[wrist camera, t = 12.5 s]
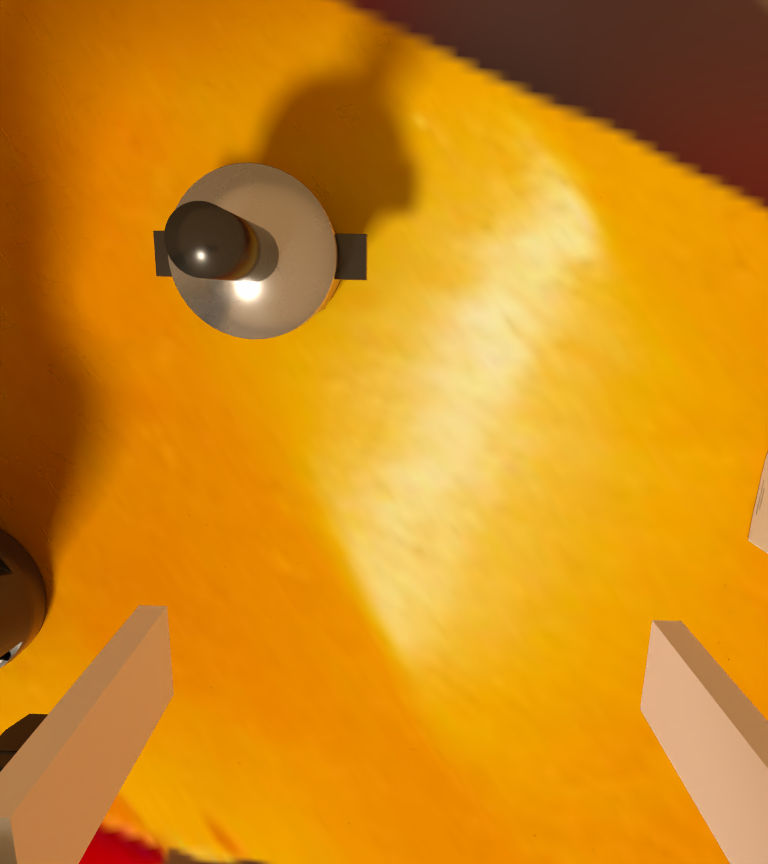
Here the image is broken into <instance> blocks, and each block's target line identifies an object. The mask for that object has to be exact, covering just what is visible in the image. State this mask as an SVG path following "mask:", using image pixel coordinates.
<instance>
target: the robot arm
mask: <svg viewBox="0 0 768 864" xmlns="http://www.w3.org/2000/svg"><path fill="white" fill-rule="evenodd" d="M45 610H46V594H45V588H44V584H43V581H42V578H41V575H40V573H39V571H38V569H37V567H36V565H35V563H34V561H33V560H32V558H31V557H30V556H29V554H28V553H27V552H26V551H25V549H24V548H23V547H22V546H21V545H20V544H19V543H18V542H17V541H16V540H14V539H13V538H12V537H11V536H9V535H8V534H7V533H5V532H4V531H2V530H1V529H0V668H1V667H3V666H4V665H6V664H7V663H9V662H10V661H12V660H13V659H14V658H15V657H16V656H17V655H18V654H19V653H20V652H22V651H23V650H24V649H25V648H26V647H27V646H28V645H29V644H30V643H31V642H32V641H33V639H34V638H35V637H36V635H37V634H38V632H39V630H40V628H41V626H42V623H43V620H44V616H45ZM173 694H174V693H173V680H172V666H171V653H170V639H169V626H168V612H167V606H141V605H139V606H138V608H137V609H136V610H135V611H134V612H133V614H132V615H131V616H130V617H129V618H128V620H127V621H126V622H125V623H124V624H123V626H122V627H121V628H120V629H119V630H118V632H117V633H116V634H115V635H114V636H113V638H112V639H111V640H110V641H109V642H108V644H107V645H106V646H105V647H104V648H103V650H102V651H101V652H100V653H99V654H98V656H97V657H96V658H95V659H94V660H93V662H92V663H91V664H90V665H89V666H88V668H87V669H86V670H85V671H84V672H83V674H82V675H81V676H80V677H79V678H78V680H77V681H76V682H75V683H74V684H73V686H72V687H71V688H70V689H69V690H68V692H67V693H66V694H65V695H64V696H63V698H62V699H61V700H60V701H59V702H58V704H57V705H56V706H55V707H54V708H53V710H52V711H51V712H50V713H49V714H29V715H27V716H26V717H24V718H23V719H21V720H20V721H18V722H17V723H15V724H14V725H12V726H11V727H9V728H8V729H7V730H5V731H4V732H3V733H2V734H1V736H0V864H78V863H79V862H80V860H81V858H82V856H83V854H84V853H85V851H86V849H87V847H88V846H89V844H90V842H91V840H92V838H93V837H94V835H95V833H96V831H97V830H98V828H99V826H100V824H101V822H102V821H103V819H104V817H105V815H106V814H107V812H108V810H109V808H110V806H111V805H112V803H113V801H114V799H115V798H116V796H117V794H118V792H119V790H120V789H121V787H122V785H123V783H124V782H125V780H126V778H127V776H128V774H129V773H130V771H131V769H132V767H133V766H134V764H135V762H136V760H137V758H138V757H139V755H140V753H141V751H142V750H143V748H144V746H145V744H146V742H147V741H148V739H149V737H150V735H151V734H152V732H153V730H154V728H155V726H156V725H157V723H158V721H159V719H160V718H161V716H162V714H163V712H164V710H165V709H166V707H167V705H168V703H169V702H170V700H171V698H172V696H173ZM640 710H641V711H642V713H643V715H644V716H645V718H646V720H647V722H648V723H649V725H650V727H651V728H652V730H653V732H654V734H655V735H656V737H657V739H658V740H659V742H660V744H661V746H662V747H663V749H664V751H665V752H666V754H667V756H668V758H669V759H670V761H671V763H672V765H673V766H674V768H675V770H676V771H677V773H678V775H679V777H680V778H681V780H682V782H683V783H684V785H685V787H686V789H687V790H688V792H689V794H690V795H691V797H692V799H693V801H694V802H695V804H696V806H697V807H698V809H699V811H700V813H701V814H702V816H703V818H704V819H705V821H706V823H707V825H708V826H709V828H710V830H711V831H712V833H713V835H714V837H715V838H716V840H717V842H718V843H719V845H720V847H721V849H722V850H723V852H724V854H725V855H726V857H727V859H728V861H729V862H730V864H768V721H767V720H766V719H765V717H764V716H763V715H762V714H761V713H760V712H759V711H758V709H757V708H756V707H755V706H754V705H753V704H752V702H751V701H750V700H749V699H748V698H747V697H746V696H745V694H744V693H743V692H742V691H741V690H740V689H739V687H738V686H737V685H736V684H735V683H734V682H733V680H732V679H731V678H730V677H729V676H728V675H727V674H726V672H725V671H724V670H723V669H722V668H721V667H720V665H719V664H718V663H717V662H716V661H715V660H714V659H713V657H712V656H711V655H710V654H709V653H708V652H707V650H706V649H705V648H704V647H703V646H702V645H701V643H700V642H699V641H698V640H697V639H696V638H695V637H694V635H693V634H692V633H691V632H690V631H689V630H688V628H687V627H686V626H685V625H684V624H683V623H682V621H657V620H652V627H651V635H650V642H649V649H648V656H647V664H646V671H645V678H644V686H643V693H642V700H641V708H640Z"/></svg>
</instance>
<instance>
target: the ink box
mask: <svg viewBox="0 0 768 864" xmlns="http://www.w3.org/2000/svg"><path fill="white" fill-rule="evenodd" d="M748 540H749V541H750V542H751V543H753V544H754V545H756V546H757V547H759V548H760V549H762V550H763V551H765V552H766V553H768V452H767V456H766V459H765V464H764V467H763V471H762V476H761V480H760V485H759V490H758V494H757V499H756V503H755V508H754V512H753V517H752V522H751V527H750V532H749V539H748Z"/></svg>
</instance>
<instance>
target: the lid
mask: <svg viewBox="0 0 768 864" xmlns="http://www.w3.org/2000/svg"><path fill="white" fill-rule="evenodd" d="M164 242H165V247H166V251H167V253H168V260H169V266H170V270H171V274H172V277H173V279H174V282H175V285H176V287H177V289H178V291H179V292H180V294H181V296H182V298H183V299H184V300H185V302H186V303H187V305H188V306H189V307H190V308H191V309H192V310H193V312H194V313H195V314H196V315H197V316H199V317H200V318H201V319H202V320H203V321H204V322H206V323H207V324H209V325H210V326H212V327H213V328H215V329H217V330H219V331H221V332H223V333H226V334H229V335H232V336H235V337H240V338H246V339H266V338H271V337H276V336H279V335H282V334H285V333H288V332H290V331H292V330H294V329H297V328H298V327H300V326H301V325H303V324H304V323H306V322H307V321H308V320H309V319H310V318H312V317H313V316H314V315H315V314H316V313H317V311H318V310H319V309H320V308H321V307H322V305H323V303H324V302H325V300H326V299H327V297H328V295H329V293H330V291H331V288H332V285H333V282H334V279H335V275H336V270H337V258H338V256H337V243H336V238H335V233H334V230H333V227H332V224H331V222H330V220H329V217H328V215H327V213H326V211H325V210H324V208H323V207H322V205H321V203H320V202H319V201H318V200H317V198H316V197H315V196H314V195H313V194H312V192H311V191H310V190H309V189H308V188H307V187H305V186H304V185H303V184H302V183H301V182H300V181H298V180H297V179H296V178H294V177H293V176H291V175H289V174H288V173H286V172H284V171H282V170H279V169H277V168H274V167H271V166H267V165H263V164H256V163H237V164H232V165H227V166H224V167H221V168H218V169H216V170H214V171H212V172H210V173H208V174H206V175H205V176H203V177H202V178H201V179H199V180H198V181H197V182H195V183H194V184H193V185H192V186H191V187H190V188H189V189H188V191H187V192H186V193H185V195H184V196H183V197H182V199H181V200H180V202H179V204H178V206H177V207H176V210H175V211H174V212H173V213H172V214H171V216H170V217H169V219H168V221H167V223H166V227H165V232H164Z"/></svg>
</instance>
